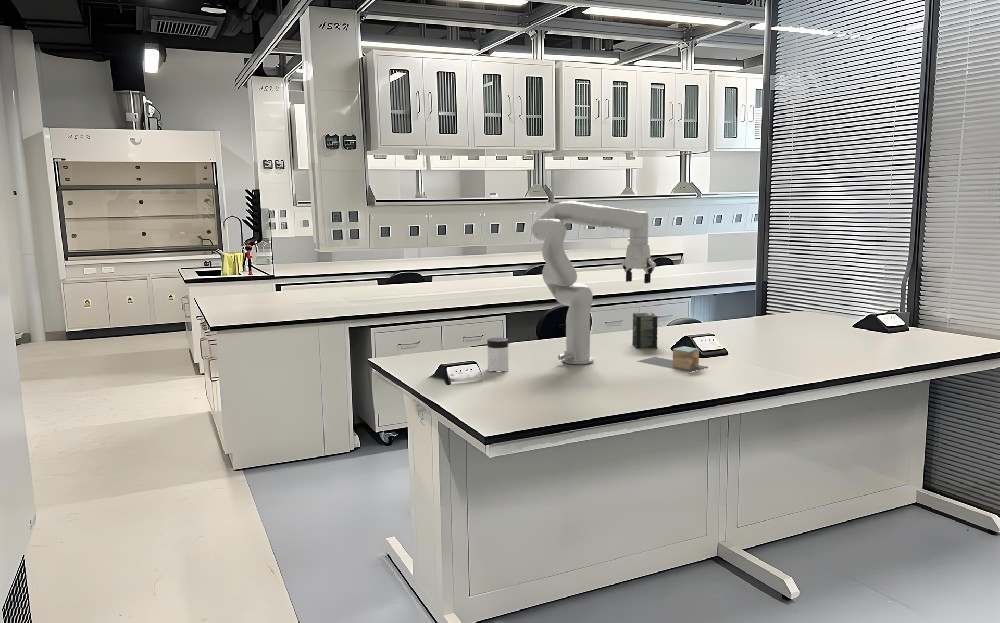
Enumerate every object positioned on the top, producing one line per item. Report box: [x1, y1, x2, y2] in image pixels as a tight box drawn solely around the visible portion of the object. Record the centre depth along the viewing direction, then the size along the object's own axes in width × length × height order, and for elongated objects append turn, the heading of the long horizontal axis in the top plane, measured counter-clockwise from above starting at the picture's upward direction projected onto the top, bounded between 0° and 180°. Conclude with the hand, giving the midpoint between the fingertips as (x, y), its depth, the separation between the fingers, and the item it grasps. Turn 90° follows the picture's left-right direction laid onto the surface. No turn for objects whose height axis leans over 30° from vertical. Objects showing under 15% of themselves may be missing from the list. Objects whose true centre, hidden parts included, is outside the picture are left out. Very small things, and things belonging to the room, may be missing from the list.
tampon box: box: [631, 312, 658, 350], centre depth 308 cm, size 11×9×15 cm
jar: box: [486, 337, 509, 372], centre depth 268 cm, size 9×8×12 cm
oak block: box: [672, 346, 700, 370], centre depth 268 cm, size 7×7×7 cm
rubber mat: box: [636, 356, 709, 373], centre depth 274 cm, size 12×25×1 cm, turn 40°
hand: (638, 282), depth 292 cm, fingers open, 9 cm apart
